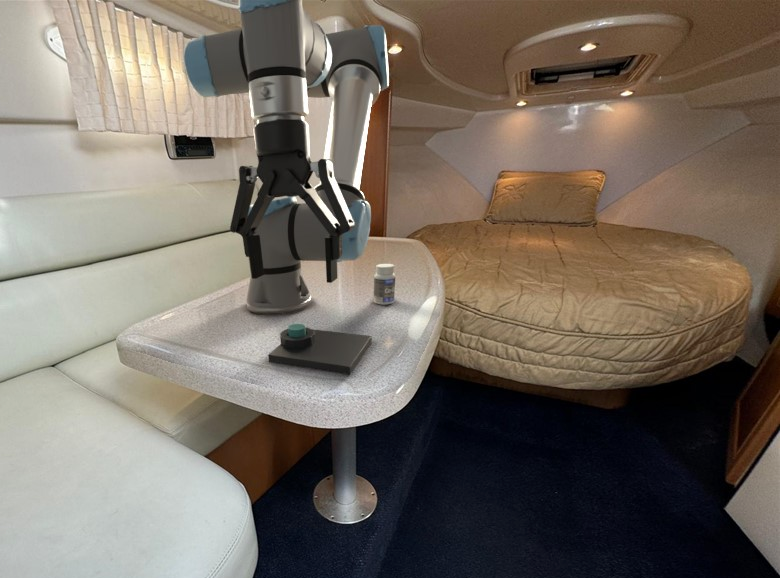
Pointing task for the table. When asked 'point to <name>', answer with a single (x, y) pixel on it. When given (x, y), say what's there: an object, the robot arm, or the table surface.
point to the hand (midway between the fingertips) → (293, 278)
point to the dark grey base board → (321, 350)
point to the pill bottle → (384, 284)
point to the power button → (296, 330)
